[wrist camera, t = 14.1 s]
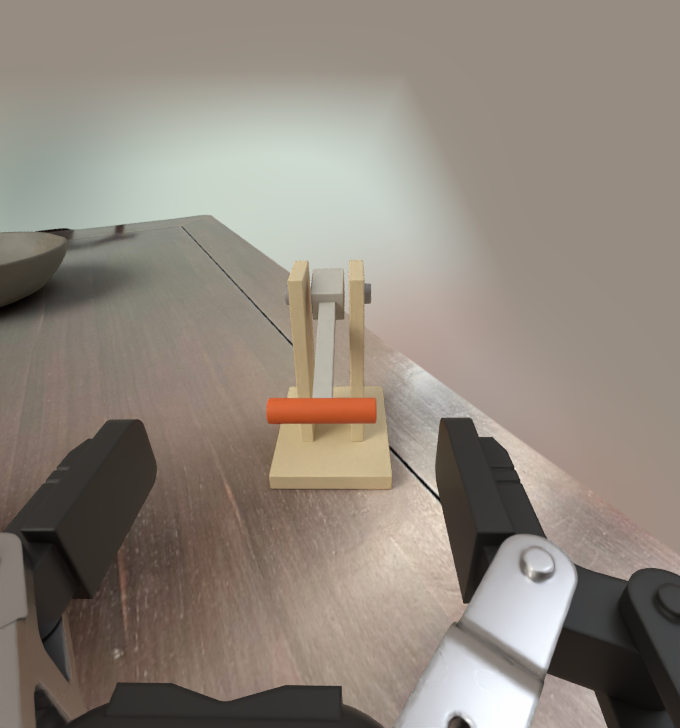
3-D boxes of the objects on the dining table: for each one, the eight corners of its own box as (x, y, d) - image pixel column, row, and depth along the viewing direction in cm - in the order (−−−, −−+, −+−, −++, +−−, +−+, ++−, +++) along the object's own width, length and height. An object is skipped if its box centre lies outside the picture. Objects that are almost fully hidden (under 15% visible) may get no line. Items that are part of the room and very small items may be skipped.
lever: (375, 433, 24) (377, 408, 22) (270, 433, 24) (263, 409, 23) (369, 293, 32) (370, 267, 30) (290, 294, 32) (286, 268, 31)
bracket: (391, 489, 32) (401, 301, 24) (270, 489, 32) (243, 303, 25) (382, 397, 42) (386, 245, 35) (290, 397, 42) (276, 247, 35)
